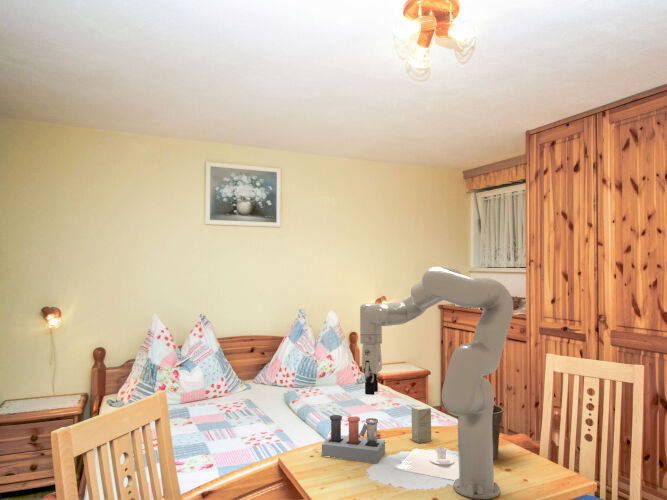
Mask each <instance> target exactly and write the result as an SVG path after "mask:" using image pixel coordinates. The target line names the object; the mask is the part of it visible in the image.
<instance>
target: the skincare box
mask: <svg viewBox="0 0 667 500" xmlns="http://www.w3.org/2000/svg"><path fill="white" fill-rule="evenodd" d="M431 409H432V408H431V407H429V406H425V405H419V406H413V407H411V440H412V441H414V442H416V443H418V444H421V443H426V442H427V443H429V442H431V441H432V410H431Z"/></svg>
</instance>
